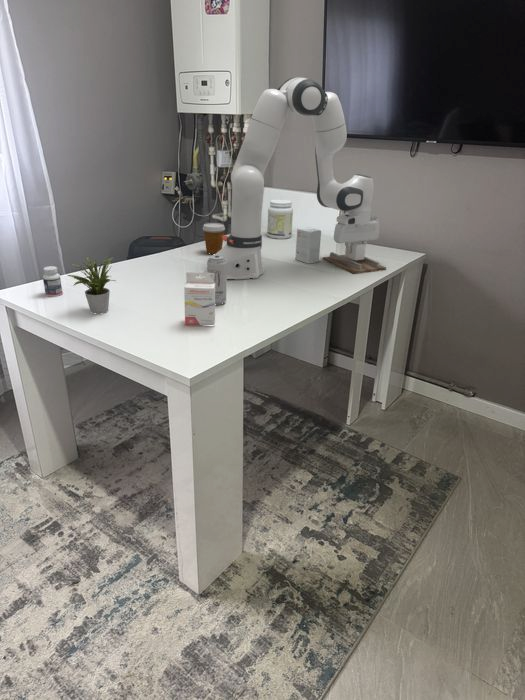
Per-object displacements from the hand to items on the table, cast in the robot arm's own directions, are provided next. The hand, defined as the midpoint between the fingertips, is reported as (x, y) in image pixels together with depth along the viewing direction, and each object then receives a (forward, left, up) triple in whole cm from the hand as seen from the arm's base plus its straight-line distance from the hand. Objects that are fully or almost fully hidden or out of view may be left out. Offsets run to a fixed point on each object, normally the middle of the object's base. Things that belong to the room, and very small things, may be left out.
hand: (354, 252), depth 205 cm
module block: (0, 0, -2) cm, 2 cm away
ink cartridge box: (-80, -34, -6) cm, 87 cm away
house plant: (-104, -12, -5) cm, 105 cm away
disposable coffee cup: (-47, +36, -6) cm, 60 cm away
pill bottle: (-115, +7, -6) cm, 115 cm away
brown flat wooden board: (0, 0, -5) cm, 5 cm away
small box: (-15, +12, -6) cm, 20 cm away
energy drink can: (-69, -20, -6) cm, 72 cm away
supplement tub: (-5, +54, -6) cm, 55 cm away
